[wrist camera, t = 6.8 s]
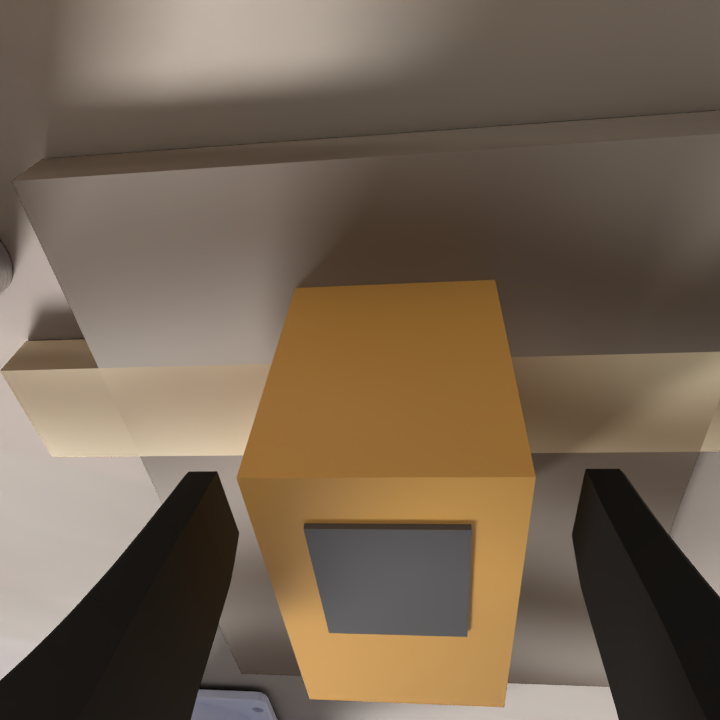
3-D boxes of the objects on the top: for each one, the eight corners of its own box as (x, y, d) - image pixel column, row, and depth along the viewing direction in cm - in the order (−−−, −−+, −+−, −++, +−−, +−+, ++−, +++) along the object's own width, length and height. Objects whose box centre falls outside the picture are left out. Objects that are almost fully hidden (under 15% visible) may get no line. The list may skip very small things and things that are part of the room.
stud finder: (482, 506, 16) (504, 712, 12) (335, 506, 16) (309, 704, 12) (495, 279, 12) (537, 483, 8) (295, 287, 12) (234, 483, 8)
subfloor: (671, 656, 22) (682, 689, 21) (189, 641, 24) (180, 671, 24) (943, 94, 10) (997, 114, 9) (-69, 166, 12) (-110, 189, 11)
